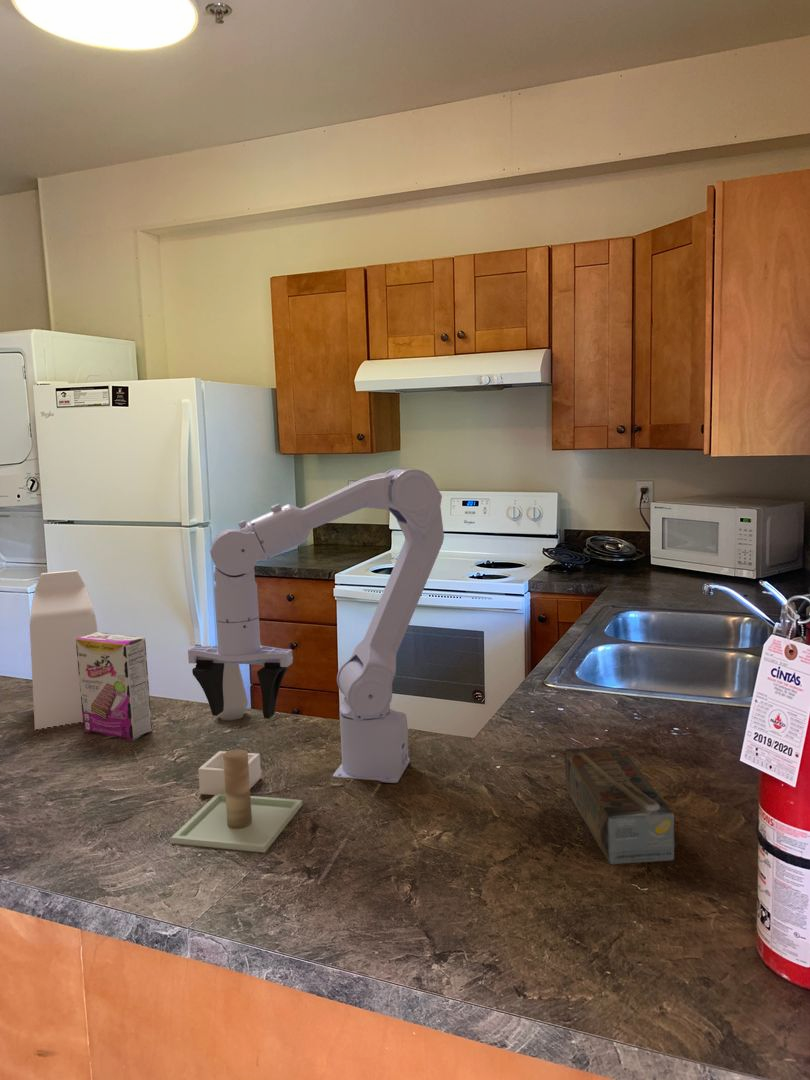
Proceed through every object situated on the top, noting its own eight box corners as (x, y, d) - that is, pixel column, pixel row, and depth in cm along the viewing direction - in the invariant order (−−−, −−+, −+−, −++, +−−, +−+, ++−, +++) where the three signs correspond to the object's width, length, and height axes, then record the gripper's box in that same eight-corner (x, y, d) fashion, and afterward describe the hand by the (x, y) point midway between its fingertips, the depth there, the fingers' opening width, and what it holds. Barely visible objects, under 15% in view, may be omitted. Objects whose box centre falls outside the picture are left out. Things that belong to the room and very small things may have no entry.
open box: (261, 780, 112) (259, 753, 111) (242, 800, 106) (240, 771, 105) (221, 777, 113) (219, 750, 113) (200, 796, 107) (198, 768, 107)
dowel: (250, 815, 100) (246, 747, 99) (253, 826, 97) (249, 756, 96) (226, 819, 99) (221, 751, 98) (228, 830, 96) (224, 760, 95)
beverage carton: (605, 867, 87) (605, 811, 86) (562, 791, 106) (562, 744, 105) (676, 863, 87) (677, 807, 87) (621, 788, 106) (621, 741, 106)
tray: (302, 808, 103) (301, 800, 103) (265, 856, 91) (264, 846, 91) (218, 801, 106) (217, 793, 105) (171, 847, 94) (170, 837, 94)
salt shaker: (240, 723, 135) (235, 649, 133) (209, 721, 136) (204, 648, 135) (253, 711, 141) (249, 640, 139) (223, 710, 142) (219, 639, 140)
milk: (34, 730, 135) (20, 580, 132) (35, 709, 146) (22, 570, 142) (109, 718, 140) (97, 573, 137) (105, 699, 150) (94, 564, 147)
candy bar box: (81, 733, 133) (73, 638, 131) (104, 723, 137) (96, 631, 135) (132, 742, 128) (124, 643, 126) (154, 731, 133) (146, 636, 130)
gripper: (298, 612, 109) (303, 707, 111) (202, 610, 112) (209, 702, 114) (278, 624, 102) (284, 725, 104) (177, 622, 106) (184, 719, 107)
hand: (243, 714), depth 109 cm, fingers open, 7 cm apart
